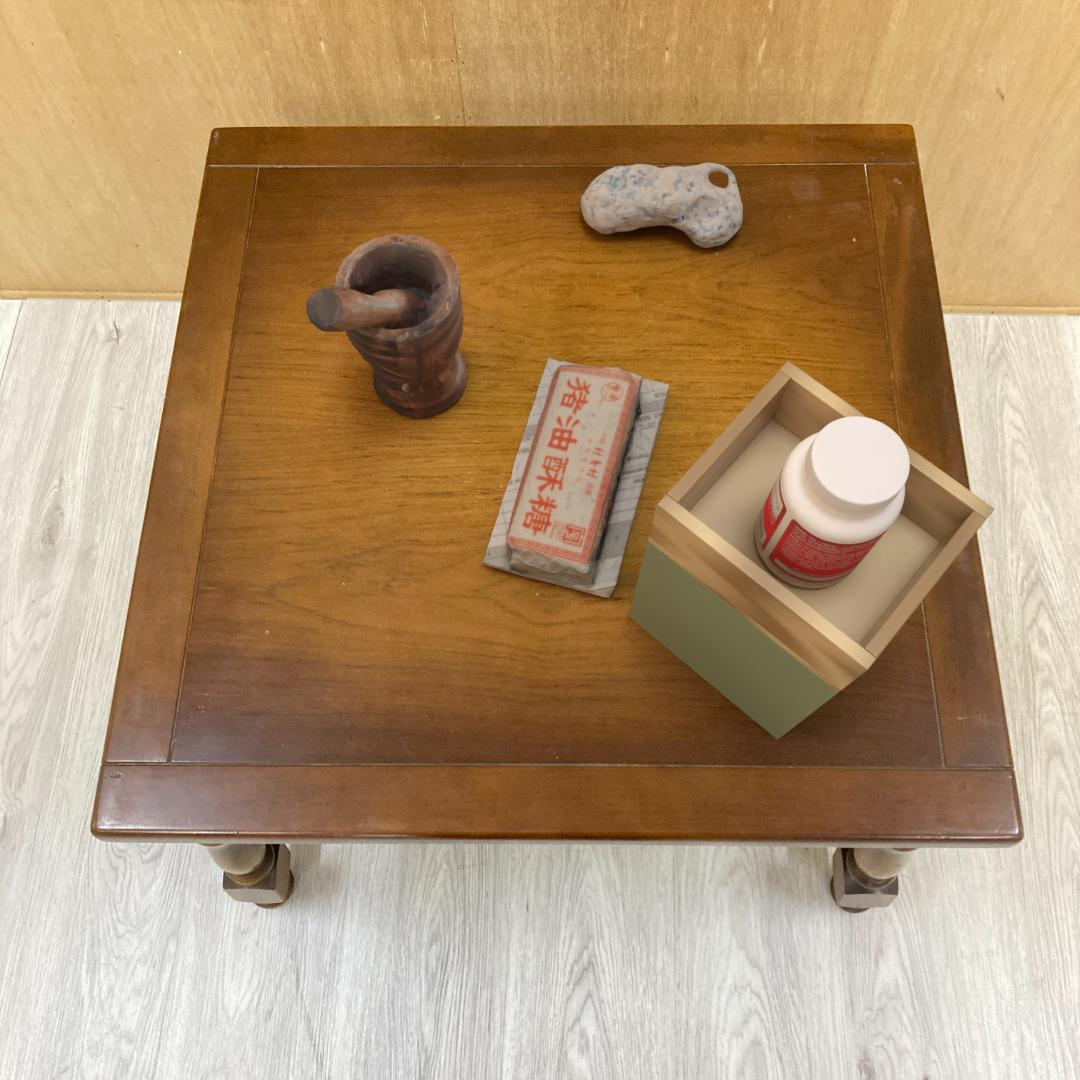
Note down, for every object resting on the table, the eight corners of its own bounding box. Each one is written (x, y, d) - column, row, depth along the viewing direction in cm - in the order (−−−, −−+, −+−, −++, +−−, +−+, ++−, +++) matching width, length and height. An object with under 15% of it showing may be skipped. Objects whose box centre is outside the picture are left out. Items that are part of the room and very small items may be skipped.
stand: (873, 619, 74) (955, 544, 59) (777, 740, 71) (838, 693, 56) (725, 505, 77) (767, 406, 62) (627, 616, 74) (647, 540, 59)
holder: (955, 544, 59) (995, 508, 54) (838, 693, 56) (868, 669, 51) (767, 406, 62) (787, 360, 57) (647, 540, 59) (656, 504, 54)
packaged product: (616, 583, 70) (478, 546, 71) (612, 603, 75) (482, 568, 76) (675, 361, 76) (547, 331, 77) (668, 393, 81) (547, 363, 82)
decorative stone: (584, 262, 85) (586, 223, 80) (578, 196, 87) (579, 155, 83) (742, 252, 85) (754, 212, 81) (731, 187, 88) (742, 145, 83)
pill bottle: (880, 564, 58) (952, 488, 48) (786, 608, 57) (838, 540, 47) (825, 474, 60) (882, 382, 50) (733, 515, 59) (772, 430, 49)
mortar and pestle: (457, 469, 79) (428, 329, 60) (347, 455, 79) (284, 313, 60) (480, 339, 83) (460, 170, 64) (376, 327, 83) (325, 156, 64)
